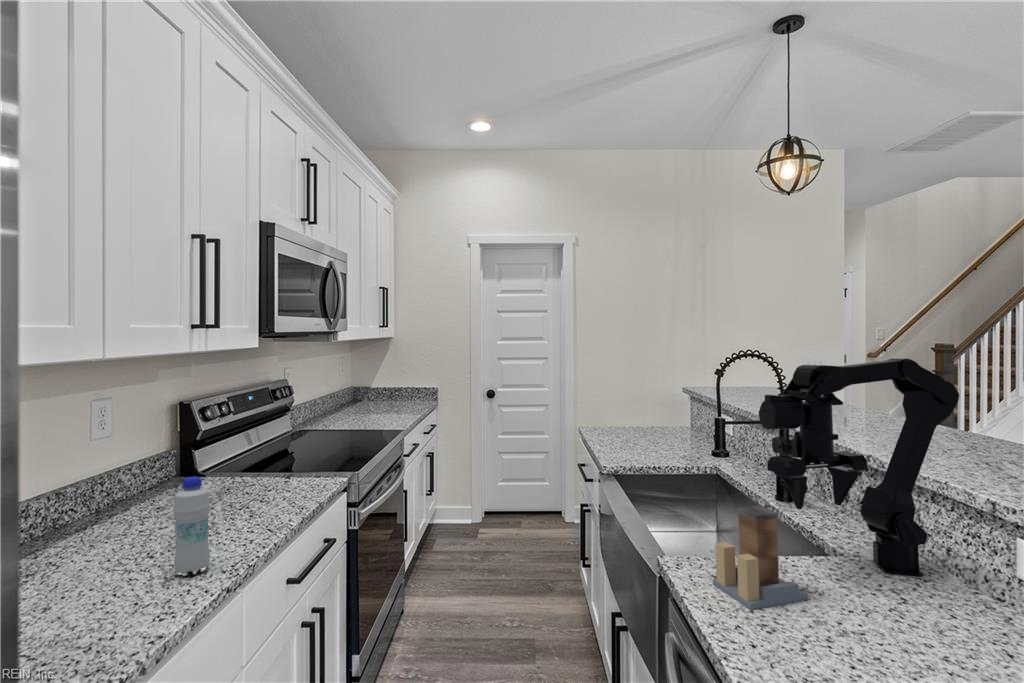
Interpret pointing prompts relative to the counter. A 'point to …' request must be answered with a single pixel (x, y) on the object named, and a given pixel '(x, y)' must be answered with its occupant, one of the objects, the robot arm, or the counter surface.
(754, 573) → the base with wooden posts
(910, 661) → the counter surface
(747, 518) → the rail end
